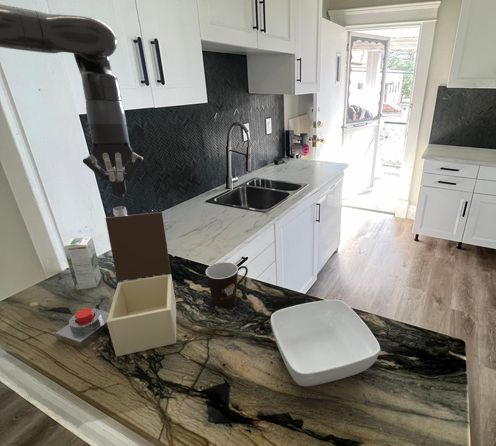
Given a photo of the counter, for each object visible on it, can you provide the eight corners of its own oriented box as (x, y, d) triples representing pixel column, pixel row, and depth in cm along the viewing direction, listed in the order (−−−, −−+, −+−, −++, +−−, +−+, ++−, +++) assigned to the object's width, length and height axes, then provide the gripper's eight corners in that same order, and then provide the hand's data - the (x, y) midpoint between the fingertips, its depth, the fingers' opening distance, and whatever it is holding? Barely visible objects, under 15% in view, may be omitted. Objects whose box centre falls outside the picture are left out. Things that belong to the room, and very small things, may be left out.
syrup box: (81, 280, 97) (69, 238, 92) (103, 277, 99) (92, 235, 93) (75, 290, 92) (62, 246, 87) (98, 287, 94) (86, 244, 88)
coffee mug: (209, 312, 84) (205, 280, 80) (208, 293, 92) (205, 264, 88) (252, 305, 87) (250, 274, 83) (248, 288, 95) (246, 259, 91)
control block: (82, 349, 72) (77, 335, 70) (57, 340, 74) (52, 327, 73) (118, 321, 81) (115, 308, 79) (95, 314, 83) (91, 302, 81)
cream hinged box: (176, 343, 74) (170, 309, 70) (116, 356, 70) (106, 321, 66) (176, 303, 87) (171, 273, 84) (125, 313, 83) (118, 282, 80)
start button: (84, 325, 74) (82, 319, 73) (73, 321, 75) (71, 316, 74) (97, 316, 77) (96, 310, 76) (86, 312, 78) (85, 306, 77)
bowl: (340, 317, 83) (342, 293, 80) (385, 379, 66) (390, 351, 63) (265, 335, 77) (264, 310, 74) (293, 409, 59) (293, 380, 56)
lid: (161, 212, 79) (161, 211, 80) (105, 218, 75) (105, 217, 76) (170, 272, 83) (170, 271, 84) (117, 281, 79) (118, 280, 80)
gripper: (68, 122, 66) (85, 201, 72) (137, 122, 70) (148, 197, 76) (78, 121, 73) (93, 194, 78) (141, 121, 77) (151, 190, 83)
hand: (120, 195), depth 77 cm, fingers closed
